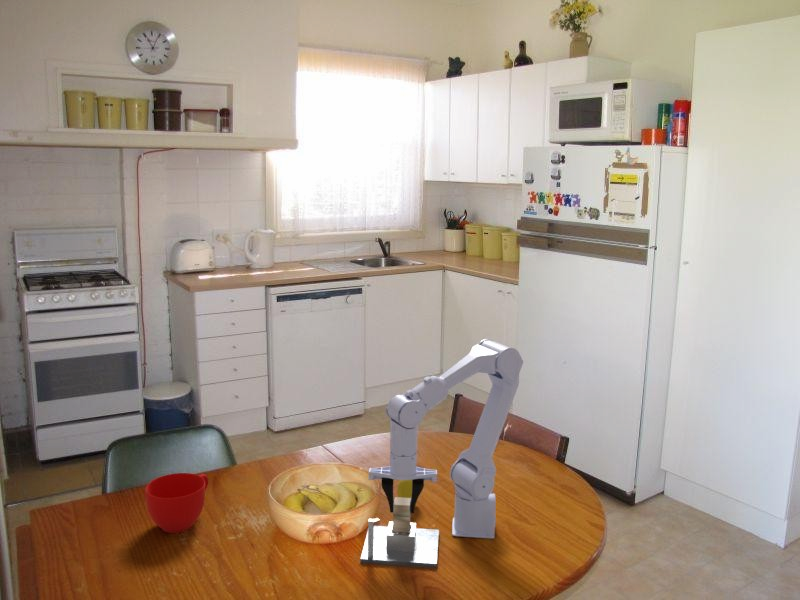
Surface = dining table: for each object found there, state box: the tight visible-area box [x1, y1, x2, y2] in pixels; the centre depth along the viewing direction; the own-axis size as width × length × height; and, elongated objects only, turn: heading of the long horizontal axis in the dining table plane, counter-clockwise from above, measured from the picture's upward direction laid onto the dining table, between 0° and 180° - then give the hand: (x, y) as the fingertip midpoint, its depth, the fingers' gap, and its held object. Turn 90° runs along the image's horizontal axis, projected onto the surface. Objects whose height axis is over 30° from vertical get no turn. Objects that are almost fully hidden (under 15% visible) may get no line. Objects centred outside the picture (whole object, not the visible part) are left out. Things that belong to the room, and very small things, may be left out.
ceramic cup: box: [144, 472, 209, 534], centre depth 162 cm, size 13×17×10 cm
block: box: [392, 496, 412, 532], centre depth 153 cm, size 4×4×6 cm
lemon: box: [396, 480, 412, 498], centre depth 173 cm, size 6×6×8 cm
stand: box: [359, 517, 440, 569], centre depth 153 cm, size 16×14×9 cm
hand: (402, 510), depth 153 cm, fingers closed on block, 4 cm apart
